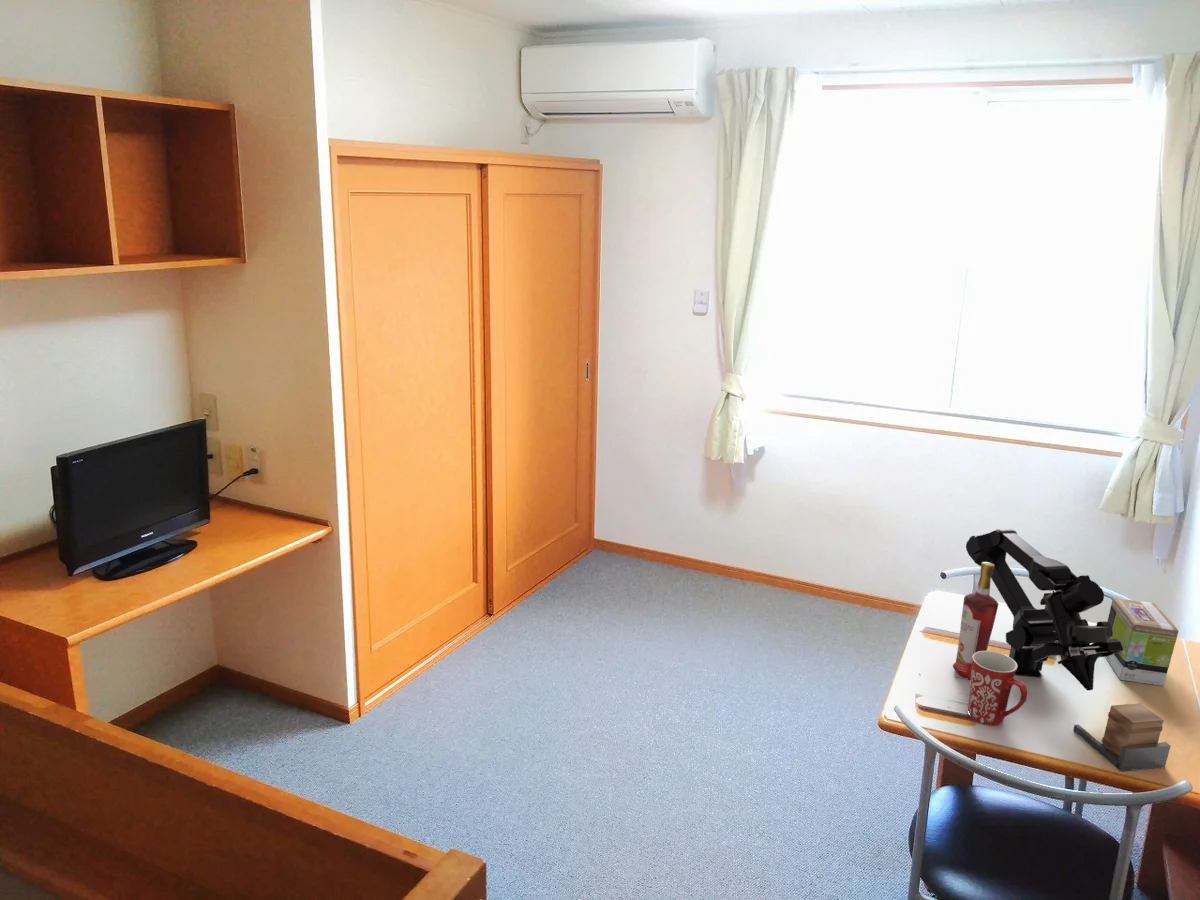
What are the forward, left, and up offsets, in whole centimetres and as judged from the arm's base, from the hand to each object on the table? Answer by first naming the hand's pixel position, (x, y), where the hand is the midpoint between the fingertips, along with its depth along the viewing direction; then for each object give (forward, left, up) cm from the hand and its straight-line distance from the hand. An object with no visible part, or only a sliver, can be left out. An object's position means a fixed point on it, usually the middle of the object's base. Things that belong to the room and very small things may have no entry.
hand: (1090, 690), depth 195 cm
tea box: (+21, +26, -8) cm, 34 cm away
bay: (+3, -10, -7) cm, 12 cm away
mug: (-20, -4, -7) cm, 22 cm away
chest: (+4, -12, -7) cm, 15 cm away
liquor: (-20, +15, -7) cm, 26 cm away
